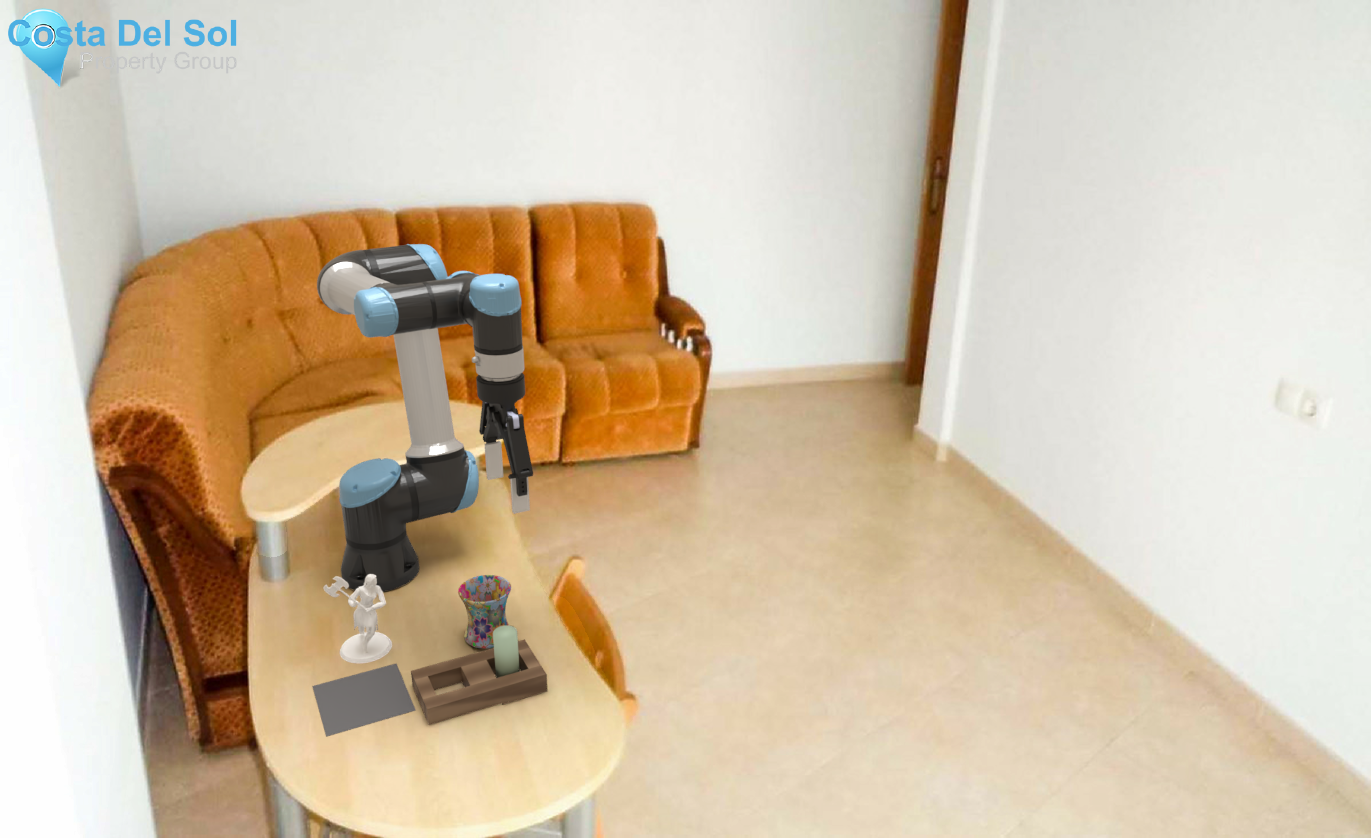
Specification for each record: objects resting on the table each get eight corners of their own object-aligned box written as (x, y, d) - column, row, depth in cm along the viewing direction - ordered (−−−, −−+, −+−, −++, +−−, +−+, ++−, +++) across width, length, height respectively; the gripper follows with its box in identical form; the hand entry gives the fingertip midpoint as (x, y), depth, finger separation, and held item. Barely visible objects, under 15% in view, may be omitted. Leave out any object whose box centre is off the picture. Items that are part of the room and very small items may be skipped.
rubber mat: (312, 688, 167) (312, 686, 167) (396, 665, 173) (396, 663, 173) (326, 738, 156) (326, 736, 155) (415, 712, 162) (415, 710, 161)
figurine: (334, 670, 172) (321, 580, 165) (337, 638, 180) (324, 552, 173) (393, 661, 174) (383, 573, 167) (393, 631, 182) (383, 545, 176)
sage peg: (493, 678, 170) (489, 629, 166) (515, 671, 172) (512, 623, 168) (500, 691, 167) (497, 641, 163) (523, 684, 168) (520, 635, 165)
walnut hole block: (412, 687, 167) (410, 670, 166) (525, 655, 176) (524, 639, 175) (429, 726, 158) (427, 709, 157) (547, 691, 167) (546, 674, 166)
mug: (516, 649, 178) (513, 598, 174) (464, 656, 176) (459, 605, 171) (510, 612, 188) (506, 564, 184) (460, 619, 186) (455, 570, 182)
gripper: (455, 353, 165) (464, 469, 173) (501, 403, 145) (509, 531, 153) (498, 347, 168) (505, 461, 176) (550, 395, 148) (555, 521, 156)
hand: (507, 494), depth 165 cm, fingers open, 13 cm apart
